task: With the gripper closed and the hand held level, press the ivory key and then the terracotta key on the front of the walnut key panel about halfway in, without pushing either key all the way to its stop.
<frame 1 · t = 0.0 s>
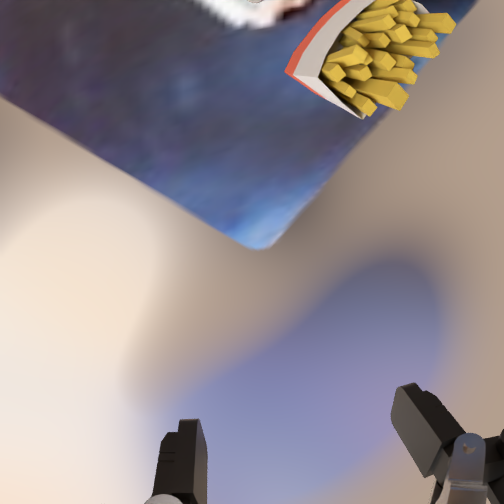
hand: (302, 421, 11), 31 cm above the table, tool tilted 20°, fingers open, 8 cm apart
french fries container: (320, 44, 30), on the table
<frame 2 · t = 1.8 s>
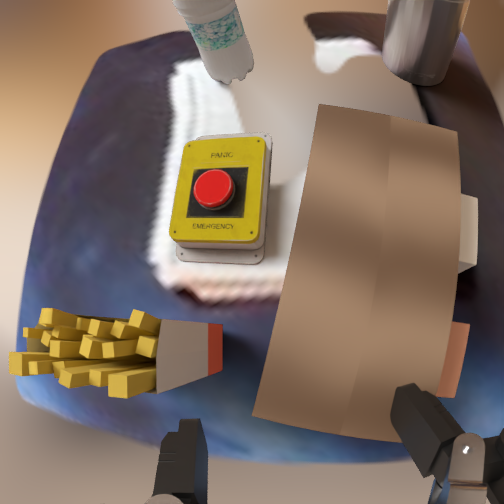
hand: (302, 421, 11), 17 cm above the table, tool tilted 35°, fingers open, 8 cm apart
french fries container: (178, 342, 31), on the table
terracotta key: (422, 355, 17), point 10 cm above the table, slide at 0.0 cm
ivory key: (439, 234, 19), point 10 cm above the table, slide at 0.0 cm
bottle: (233, 72, 38), on the table
emergency button: (226, 195, 34), on the table
key panel: (346, 296, 29), on the table
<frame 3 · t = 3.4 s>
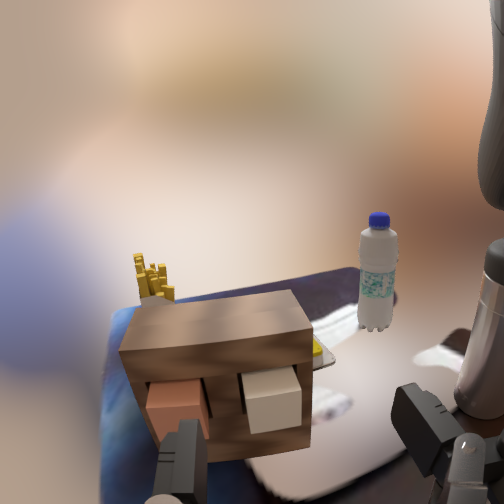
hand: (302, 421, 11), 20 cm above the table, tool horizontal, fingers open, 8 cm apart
french fries container: (175, 369, 47), on the table
terracotta key: (179, 408, 25), point 10 cm above the table, slide at 0.0 cm
ivory key: (271, 398, 26), point 10 cm above the table, slide at 0.0 cm
bottle: (373, 326, 53), on the table
emergency button: (280, 361, 48), on the table
key panel: (234, 434, 33), on the table
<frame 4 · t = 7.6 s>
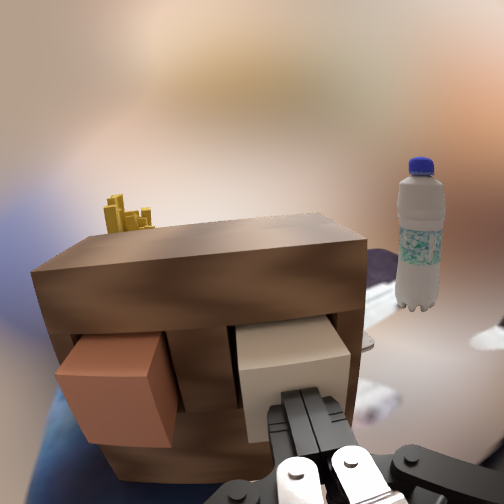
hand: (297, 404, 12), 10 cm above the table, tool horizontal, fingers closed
french fries container: (158, 351, 35), on the table
terracotta key: (123, 388, 14), point 10 cm above the table, slide at 0.0 cm
ivory key: (288, 377, 14), point 10 cm above the table, slide at 0.0 cm, touching gripper
bottle: (414, 306, 40), on the table
key panel: (227, 442, 21), on the table
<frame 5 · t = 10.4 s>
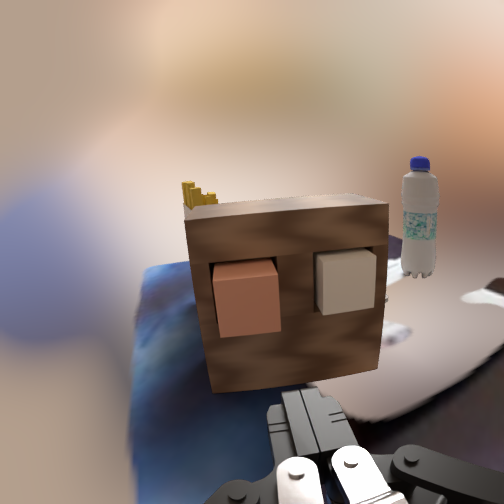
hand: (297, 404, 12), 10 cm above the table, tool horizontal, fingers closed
french fries container: (216, 309, 46), on the table
terracotta key: (246, 296, 24), point 10 cm above the table, slide at 0.0 cm
ivory key: (341, 277, 26), point 10 cm above the table, slide at 1.6 cm
bottle: (417, 275, 51), on the table
key panel: (291, 360, 32), on the table
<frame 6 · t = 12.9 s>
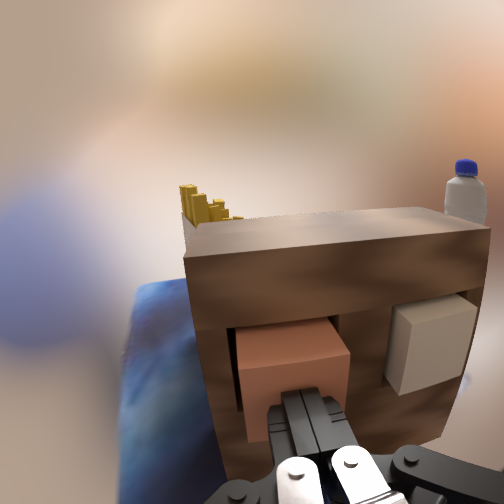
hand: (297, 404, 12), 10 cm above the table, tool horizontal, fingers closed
french fries container: (225, 347, 36), on the table
terracotta key: (288, 376, 14), point 10 cm above the table, slide at 0.3 cm, touching gripper
ivory key: (422, 335, 16), point 10 cm above the table, slide at 1.6 cm
bottle: (457, 297, 40), on the table
key panel: (330, 430, 22), on the table
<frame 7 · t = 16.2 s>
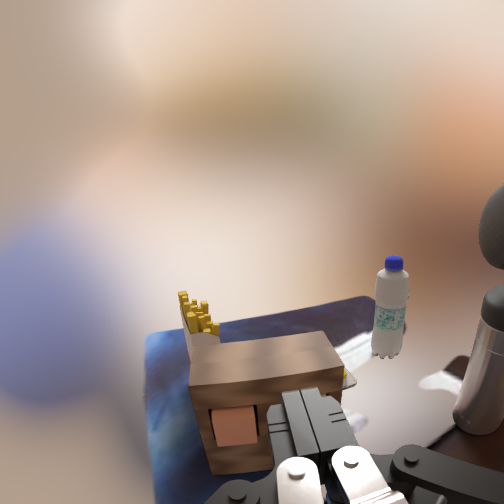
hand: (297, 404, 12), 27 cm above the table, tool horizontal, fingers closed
french fries container: (211, 391, 52), on the table
terracotta key: (234, 420, 32), point 10 cm above the table, slide at 1.5 cm
ivory key: (305, 410, 33), point 10 cm above the table, slide at 1.6 cm
bottle: (385, 353, 58), on the table
key panel: (269, 448, 38), on the table
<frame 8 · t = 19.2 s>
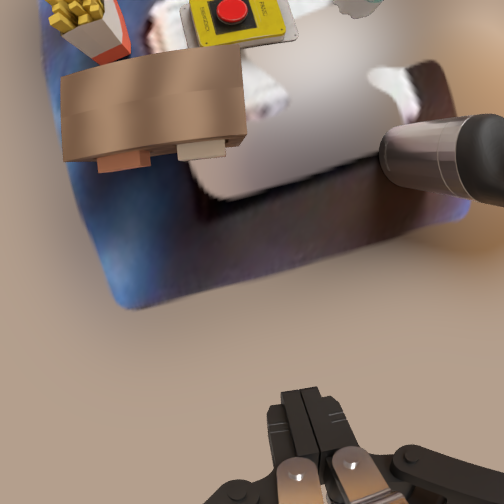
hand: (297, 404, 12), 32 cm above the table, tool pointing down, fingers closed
french fries container: (115, 35, 34), on the table
terracotta key: (123, 149, 29), point 10 cm above the table, slide at 1.5 cm
ivory key: (201, 138, 30), point 10 cm above the table, slide at 1.6 cm
bottle: (349, 5, 35), on the table
emergency button: (238, 21, 36), on the table
key panel: (174, 123, 38), on the table
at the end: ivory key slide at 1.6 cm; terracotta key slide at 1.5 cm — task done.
